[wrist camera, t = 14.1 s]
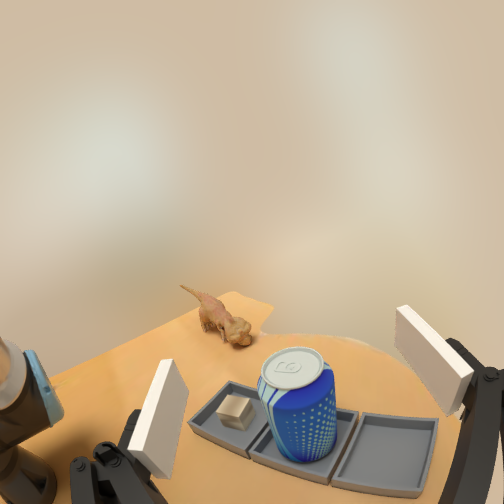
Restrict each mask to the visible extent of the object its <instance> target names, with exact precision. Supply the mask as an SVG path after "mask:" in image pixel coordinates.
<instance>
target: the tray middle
mask: <svg viewBox="0 0 504 504" xmlns="http://www.w3.org/2000/svg"><path fill="white" fill-rule="evenodd" d="M336 417H337V440H336V443H335V445H334V447H333V448H332V450H331V451H330V452H329V453H328V454H326V455H325V456H323V457H322V458H320V459H317V460H314V461H310V462H296V461H292V460H289V459H287V458H286V457H284V456H283V455H282V454H281V453H280V452H279V450H278V448H277V445H276V442H275V440H274V437H273V434H272V431H271V429H270V426H268V427H267V428H266V430H265V431H264V432H263V434H262V435H261V436H260V438H259V439H258V440H257V441H256V443H255V444H254V445H253V446H252V448H251V449H250V450H249V451H248V452H249V454H250V456H251V458H252V460H253V461H254V462H257V463H259V464H262V465H264V466H267V467H269V468H272V469H275V470H278V471H280V472H283V473H286V474H289V475H292V476H295V477H299V478H302V479H305V480H309V481H312V482H316V483H319V484H323V485H327V486H328V484H329V482H330V480H331V479H332V477H333V475H334V473H335V471H336V469H337V467H338V465H339V464H340V462H341V460H342V458H343V456H344V454H345V451H346V449H347V447H348V445H349V443H350V441H351V439H352V436H353V434H354V432H355V430H356V427H357V425H358V421H359V412H358V411H352V410H346V409H340V408H336Z"/></svg>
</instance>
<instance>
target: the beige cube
mask: <svg viewBox="0 0 504 504" xmlns="http://www.w3.org/2000/svg"><path fill="white" fill-rule="evenodd" d="M216 413H217V415H218V417H219V419H220V421H221V423H222V425H223V426H224V427H228V428H232V429H236V430H240V431H245V432H246V430H247V428H248V426H249V425H250V423H251V421H252V419H253V418H254V416H255V414H256V413H255V411H254V408H253V406H252V403H251V400H250V399H249V398H243V397H238V396H232V395H227V396H226V398H225V399H224V401H223V402H222V403H221V405H220V406H219V408H218V409H217V411H216Z"/></svg>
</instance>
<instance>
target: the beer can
mask: <svg viewBox="0 0 504 504" xmlns="http://www.w3.org/2000/svg"><path fill="white" fill-rule="evenodd" d="M257 390H258V394H259V397H260V400H261V403H262V406H263V409H264V412H265V415H266V417H267V420H268V423H269V426H270V429H271V431H272V434H273V437H274V440H275V442H276V445H277V448H278V450H279V452H280V453H281V454H282V455H283V456H284V457H286V458H287V459H289V460H292V461H296V462H310V461H314V460H317V459H320V458H322V457H323V456H325V455H326V454H328V453H329V452H330V451H331V450H332V448H333V447H334V445H335V443H336V440H337V417H336V398H335V383H334V374H333V371H332V369H331V367H330V366H329V365H328V364H327V363H326V362H325V361H324V360H323V357H322V356H321V354H320V353H319V352H317V351H316V350H314V349H311V348H308V347H290V348H286V349H283V350H280V351H278V352H276V353H274V354H272V355H271V356H270V357H269V358H267V359H266V361H265V362H264V363H263V365H262V368H261V376H260V378H259V380H258V384H257Z"/></svg>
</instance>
